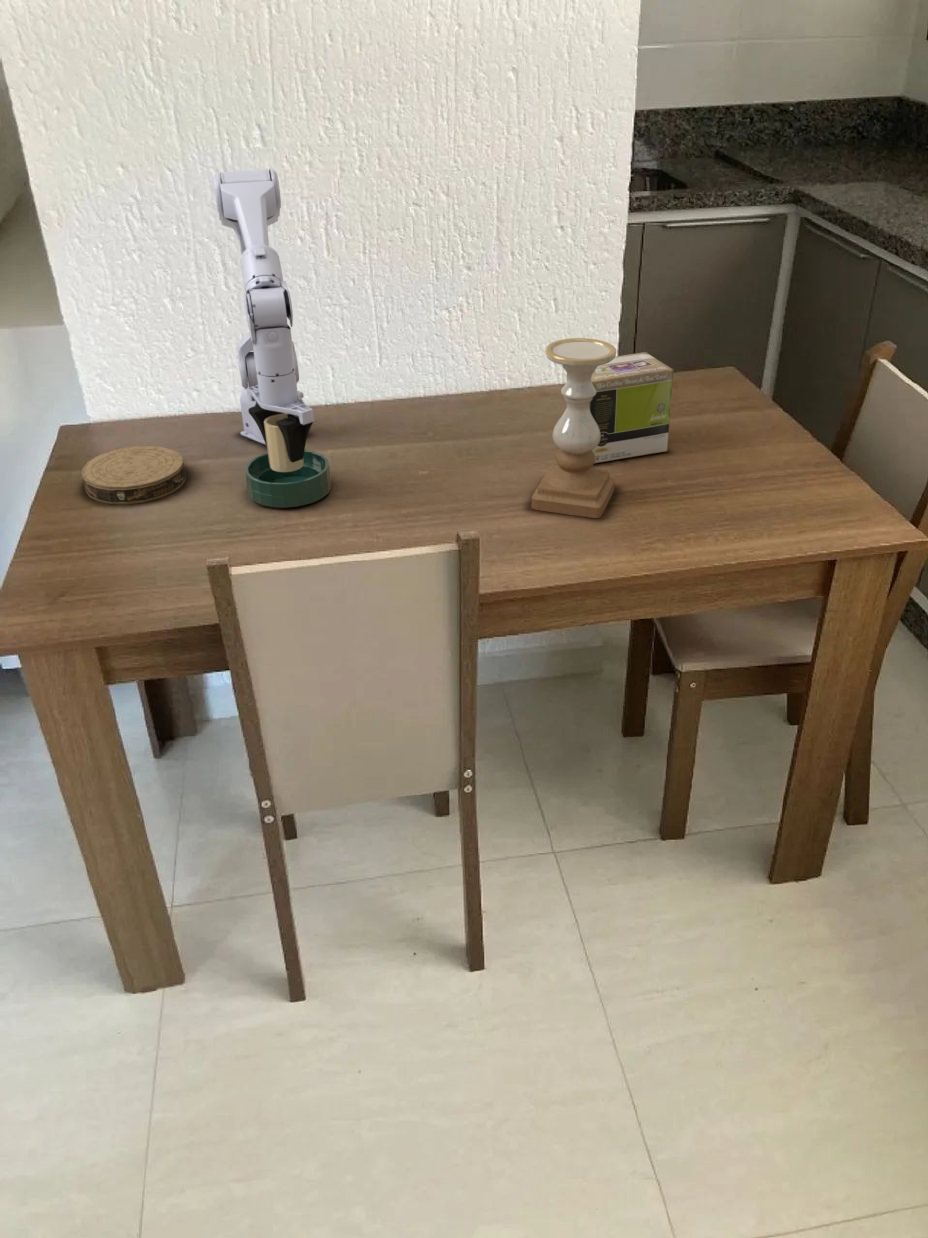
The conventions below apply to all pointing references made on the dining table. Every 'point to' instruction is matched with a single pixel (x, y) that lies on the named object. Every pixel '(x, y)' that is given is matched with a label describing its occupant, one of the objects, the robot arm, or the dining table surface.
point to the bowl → (288, 481)
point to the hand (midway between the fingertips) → (285, 454)
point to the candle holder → (576, 435)
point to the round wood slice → (134, 475)
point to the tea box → (631, 406)
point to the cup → (278, 446)
